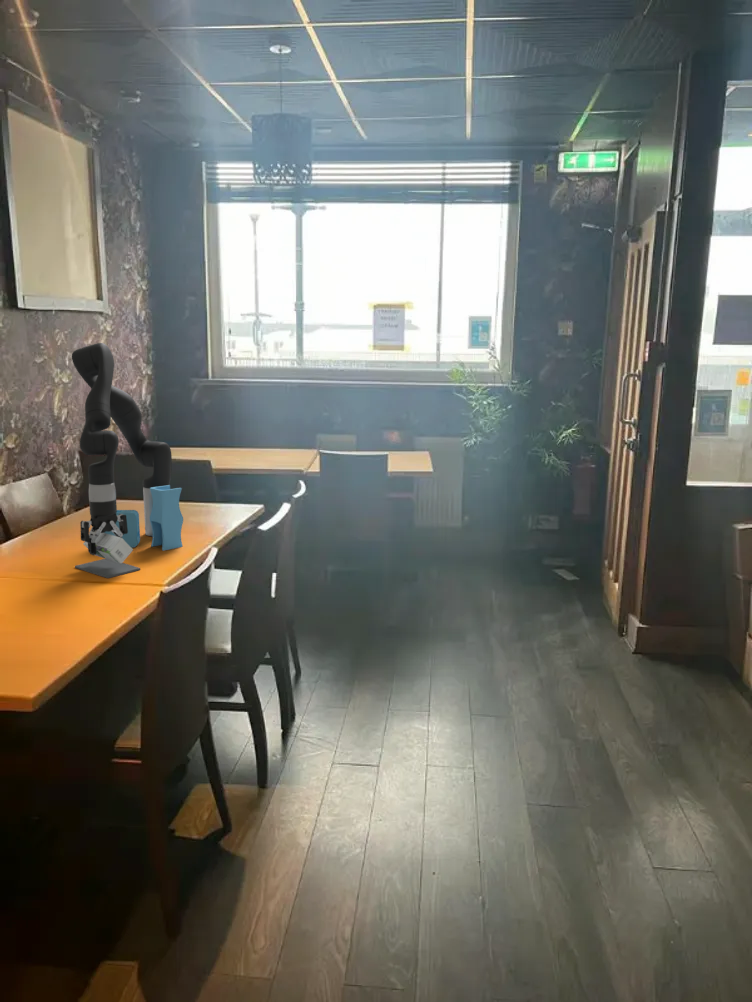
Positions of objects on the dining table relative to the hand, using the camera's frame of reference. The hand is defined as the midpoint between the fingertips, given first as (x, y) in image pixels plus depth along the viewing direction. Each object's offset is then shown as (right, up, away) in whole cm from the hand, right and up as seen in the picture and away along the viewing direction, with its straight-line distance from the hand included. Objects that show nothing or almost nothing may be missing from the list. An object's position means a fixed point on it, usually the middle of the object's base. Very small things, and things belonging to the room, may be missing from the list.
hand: (105, 551), depth 220 cm
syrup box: (+7, +1, -5) cm, 9 cm away
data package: (-5, 0, +27) cm, 28 cm away
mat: (0, -5, +1) cm, 5 cm away
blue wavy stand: (+11, 0, +28) cm, 30 cm away
